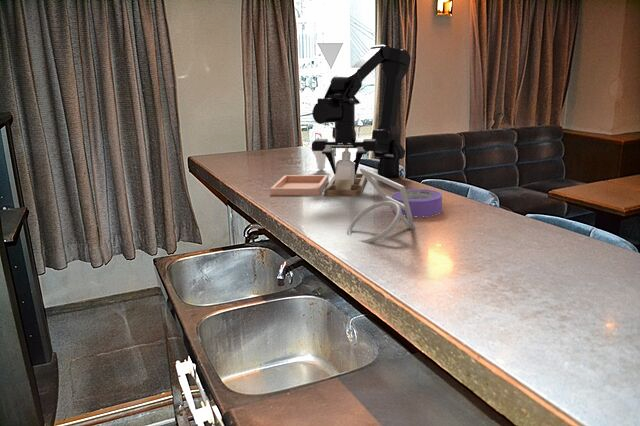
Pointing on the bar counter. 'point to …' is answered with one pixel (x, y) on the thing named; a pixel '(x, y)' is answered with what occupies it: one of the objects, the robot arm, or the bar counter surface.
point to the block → (343, 185)
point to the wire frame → (388, 201)
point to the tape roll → (421, 202)
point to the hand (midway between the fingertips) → (345, 174)
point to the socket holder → (354, 191)
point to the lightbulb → (320, 159)
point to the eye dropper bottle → (345, 168)
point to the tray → (300, 185)
